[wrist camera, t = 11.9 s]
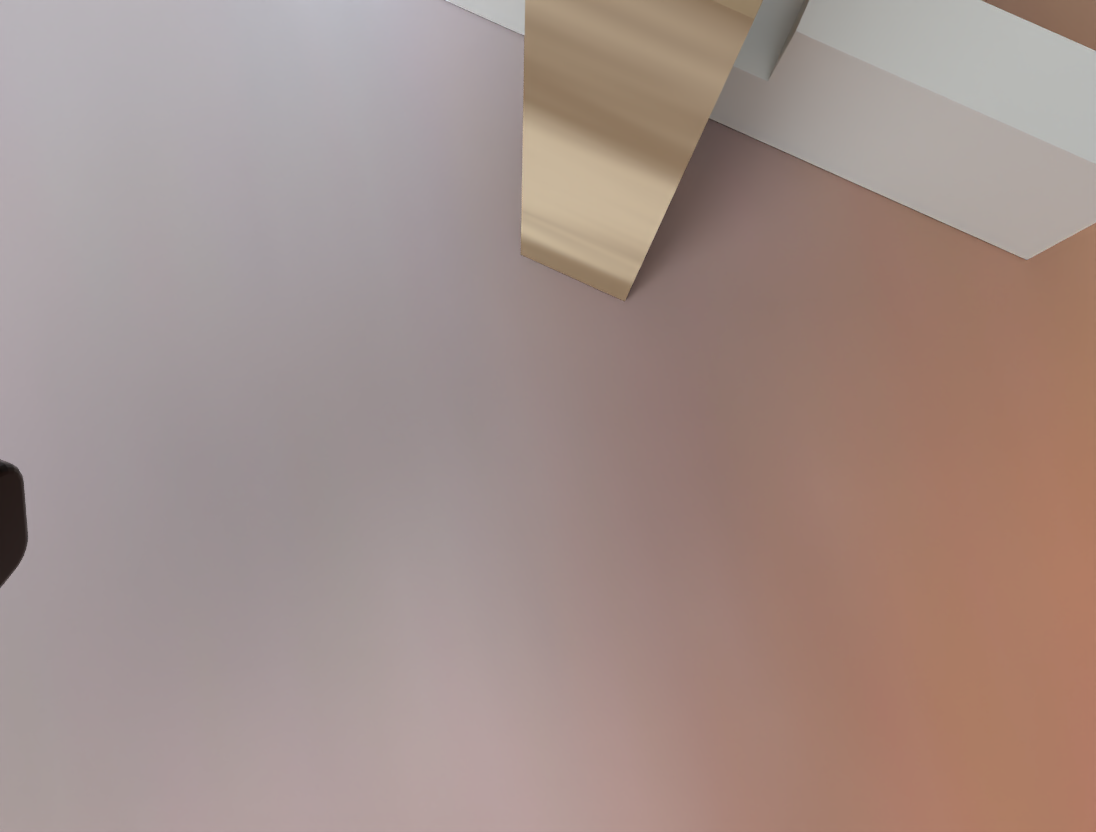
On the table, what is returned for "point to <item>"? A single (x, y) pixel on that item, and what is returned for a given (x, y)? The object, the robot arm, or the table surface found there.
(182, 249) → the table surface
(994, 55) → the light grey slotted rail
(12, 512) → the robot arm
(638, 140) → the birch slotted plate
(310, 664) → the table surface
